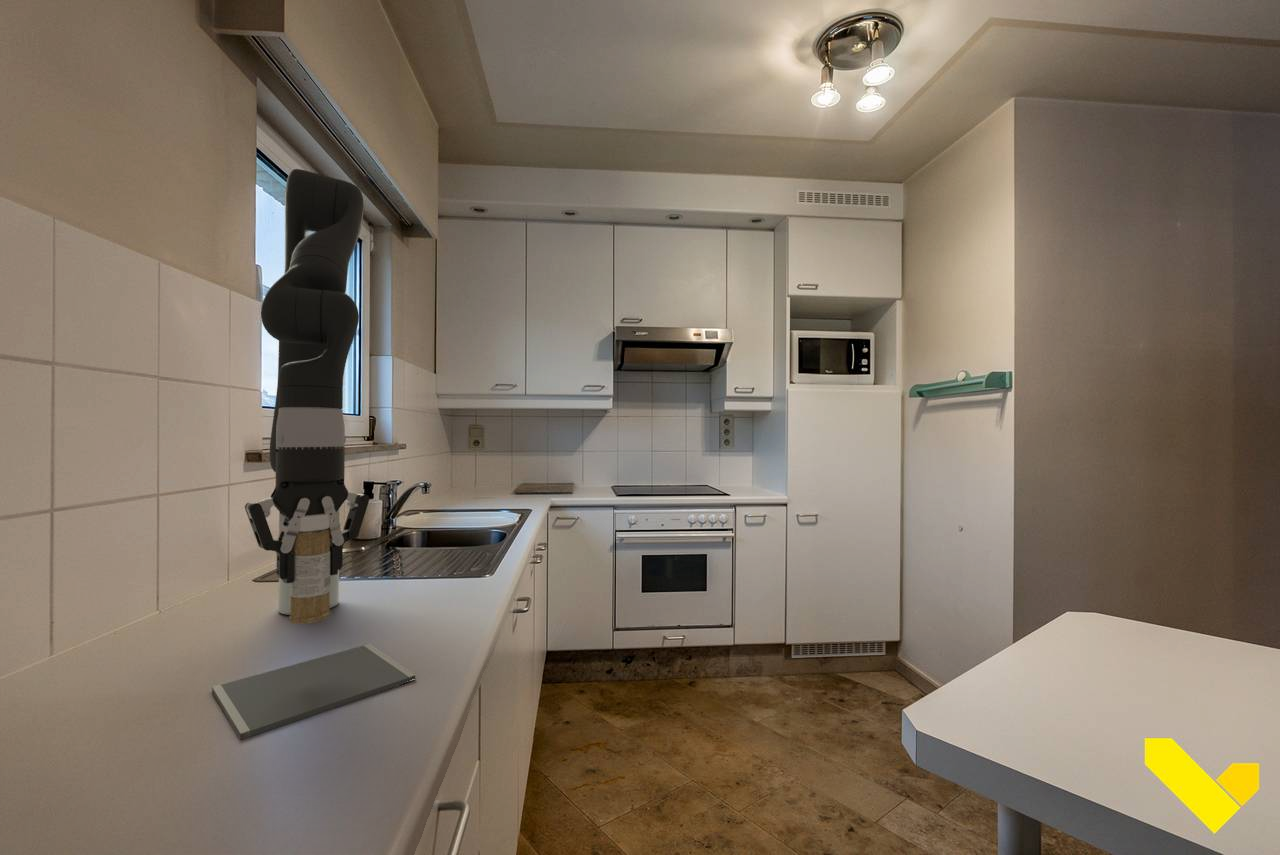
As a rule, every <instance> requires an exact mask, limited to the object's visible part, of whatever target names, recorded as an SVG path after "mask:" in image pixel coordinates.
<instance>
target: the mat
mask: <svg viewBox="0 0 1280 855" xmlns="http://www.w3.org/2000/svg"><path fill="white" fill-rule="evenodd" d="M412 679H415V680H416V674H415V673H413V672H412V671H410V670H409V669H407V668H406V667H405V666H403V665H401V664H400V663H399V662H397V661H395V660H394V659H393V658H391V657H390V656H388V655H386V654H385V653H384V652H382V651H381V650H379V649H377V648H376V647H374V646H373V645H372V644H370V643H367V644H364V645H361V646H356V647H354V648H349V649H346V650H342V651H339V652H335V653H331V654H328V655H325V656H321V657H317V658H314V659H310V660H306V661H302V662H298V663H295V664H291V665H288V666H284V667H280V668H277V669H274V670H269V671H266V672H262V673H259V674H255V675H251V676H247V677H244V678H240V679H236V680H231V681H229V682H226V683H222V684H217V685H213V686H212V687H211V692H212V695H213V697H215V699H216V702H217V703H218V705H219V706H220V708H221V710H222V711H223V713H224V715H225V716H226V718H227V720H228V722H229V723H230V725H231V726H232V728H233V730H234V732H235V733H236V735H237V737H238V738H239V740H240V741H241V740H244V739H247V738H251V737H252V736H256V735H259V734H261V733H265V732H267V731H270V730H273V729H276V728H279V727H282V726H285V725H288V724H291V723H294V722H296V721H300V720H303V719H305V718H309V717H311V716H315V715H317V714H320V713H323V712H326V711H330V710H332V709H335V708H339V707H340V706H344V705H348V704H349V703H352V702H355V701H358V700H361V699H364V698H366V697H370V696H373V695H375V694H379V693H382V692H384V690H385V691H388V690H390V689H389V688H391V689H393V688H392V687H394V686H397V685H399V686H401V685H400V684H402V683H405V682H407V681H410V680H412ZM405 684H406V683H405ZM402 685H403V684H402ZM397 687H398V686H397ZM394 688H395V687H394ZM387 689H388V690H387ZM381 691H382V692H381Z"/></svg>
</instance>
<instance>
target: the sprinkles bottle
mask: <svg viewBox="0 0 1280 855" xmlns="http://www.w3.org/2000/svg"><path fill="white" fill-rule="evenodd" d="M297 518H299V517H297ZM295 525H296V524H295ZM329 528H330V527H329V516H328V515H325V514H318V515H305V516H304V517H302V518H301V528H300V531H299V533H298V535H297V536H296V538H295V541H294V544H293V547H292V550H291V552H293V553H294V581H293V582H292V583H290V596H291V615H289V618H288V620H289V622H290V623H291V624H299V625H303V624H304V625H305V624H314V623H317V622H322V621H323V620H326V619H328V618H329V617H330V615H331V610H330V609H331V608H329V606H330V604H329V602H330V600H329V599H330V598H329V594H330V530H329Z"/></svg>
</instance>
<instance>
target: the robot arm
mask: <svg viewBox="0 0 1280 855" xmlns="http://www.w3.org/2000/svg"><path fill="white" fill-rule="evenodd" d="M284 194H285V195H284V272H283V273H284V274H283V275H282V276H281V277H280V278H279V279H278V280H277V281H275V282H274V283H273V285H271V287H270V288H269V289H268V290H267V292H266V294H265V296H264V297H263V301H262V303H261V308H260V317H261V318H260V319H261V322H262V323H261V324H262V325H263V327H264V330H266V332H267V333H268V334H269V335H270V336H271V337H272V338H273V339H274V340H276V341H278V359H277V360H278V362H277V363H278V364H277V366H278V367H277V388H276V395H275V403H274V410H273V418H272V424H271V425H272V426H271V433H270V441H269V461H270V462H269V464H270V466H271V469H272V471H273V472H274V473H275V485H274V486H275V487H274V489H273V492H272V493H271V495H270V496H269V497H267V498H264V499H261V500H258V501H249V502H247V503H245V505H244V510H245V512H246V515H247V517H248V520H249V523H250V526H251V530H252V532H253V535H254V537H255V539H256V543H257V546H258V547H259V548H261V549H263V550H264V551H272V552H275V553H276V575H277V577H278V613H280V614H283V615H289V616H290V615H291V596H290V583H292V582H293V581H294V553H293V552H291V550H292V547H293V544H294V541H295V538H296V536H297V535H298V533H299V531H300V528H301V518H302V517H304V516H305V515H318V514H325V515H328V516H329V527H330V528H329V530H330V594H329V598H330V599H329V600H330V602H329V604H330V606H329V609H332V608H334V607H336V606H337V605H338V604H339V597H340V596H339V594H340V593H339V587H340V585H339V584H340V570H342V568H343V564H344V563H343V557H344V556H343V551H344V549H343V548H344V545H345V544H346V542H349V541H350V540H355V539H357V538H358V537H359V535H360V531H361V528H362V525H363V522H364V520H365V519H364V517H365V515H366V512H367V509H368V505H369V503H370V502H369V501H370V496H369V495H367V494H364V493H354V492H349V490H348V489H347V487H346V485H345V468H346V467H345V463H346V462H345V461H346V460H345V454H346V453H345V449H346V448H345V447H346V446H345V445H346V441H347V439H346V437H347V436H346V434H345V433H346V431H345V430H346V427H345V419H344V411H343V408H344V405H343V404H344V402H343V401H344V400H343V396H344V392H343V391H344V374H345V368H346V364H347V360H348V356H349V352H350V350H351V346H352V343H353V342H354V339H355V335H356V333H357V329H358V326H359V322H360V321H359V318H360V313H359V309H358V306H357V303H355V301H354V300H353V298H352V297H351V296H350V295H348V294H347V293H346V291H347V285H348V284H347V281H348V273H349V265H350V261H351V258H352V255H353V254H354V251H355V248H356V246H357V243H358V240H359V238H360V234H361V230H362V226H363V220H364V209H365V208H364V206H365V205H364V196H363V193H362V191H361V189H360V188H359V187H358V186H357V185H356V184H353V183H352V182H348V181H347V180H343V179H340V178H335V177H332V176H327V175H323V174H319V173H316V172H313V171H309V170H306V169H300V168H294V169H292V170H291V171H290V172H289V174H288V175H287V178H286V185H285V192H284ZM309 232H311V234H309V235H308V233H309ZM345 501H346V503H347V504H346V507H347V508H348V509H349V510H348V514H347V517H346V520H345V523H344V526H343V530H341V523H340V508H341V507H342V506H343V504H344V503H345ZM272 507H275V508H276V510H278V511H279V514H278V515H279V521H278V524H279V526H278V528H279V531H278V532H279V534H278V536H277V539H274V536H273V534H272V532H271V529H270V526H269V523H268V521H267V518H268V517H270V515H271V509H272ZM297 517H299V518H297ZM295 524H296V525H295Z"/></svg>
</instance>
